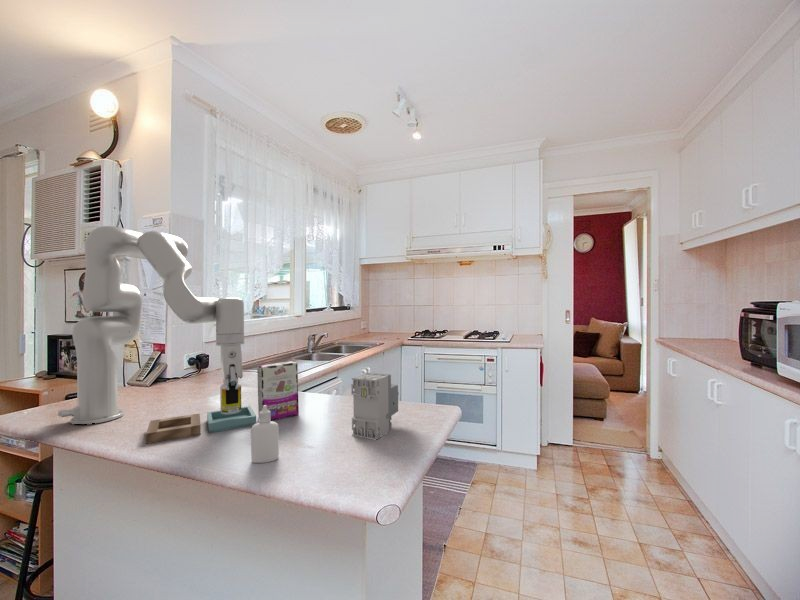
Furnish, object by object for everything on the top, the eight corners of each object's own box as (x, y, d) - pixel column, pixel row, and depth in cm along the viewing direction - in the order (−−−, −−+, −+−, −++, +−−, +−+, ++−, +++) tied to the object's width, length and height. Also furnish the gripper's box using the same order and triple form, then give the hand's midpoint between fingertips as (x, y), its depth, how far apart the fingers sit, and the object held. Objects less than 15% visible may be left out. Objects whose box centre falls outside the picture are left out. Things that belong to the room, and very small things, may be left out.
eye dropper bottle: (260, 454, 82) (259, 402, 82) (282, 456, 81) (281, 403, 81) (247, 462, 78) (247, 407, 78) (270, 465, 77) (270, 409, 77)
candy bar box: (292, 411, 115) (292, 360, 115) (299, 415, 111) (298, 362, 112) (257, 418, 108) (256, 364, 108) (262, 423, 104) (261, 366, 105)
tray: (209, 432, 97) (209, 423, 97) (207, 420, 107) (207, 412, 107) (256, 424, 103) (256, 416, 103) (250, 413, 113) (250, 406, 113)
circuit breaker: (400, 422, 103) (400, 370, 103) (377, 440, 90) (376, 380, 90) (378, 419, 106) (377, 368, 106) (352, 435, 93) (351, 378, 93)
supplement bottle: (243, 412, 105) (243, 377, 105) (223, 416, 101) (222, 380, 101) (238, 408, 109) (238, 374, 109) (218, 412, 105) (218, 377, 106)
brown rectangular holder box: (145, 443, 90) (145, 433, 90) (150, 429, 100) (150, 420, 100) (200, 434, 96) (200, 424, 96) (199, 421, 106) (199, 413, 106)
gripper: (248, 341, 100) (248, 405, 100) (240, 336, 115) (241, 393, 114) (218, 342, 96) (218, 410, 96) (214, 338, 111) (214, 396, 111)
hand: (231, 400), depth 105 cm, fingers closed on supplement bottle, 5 cm apart
